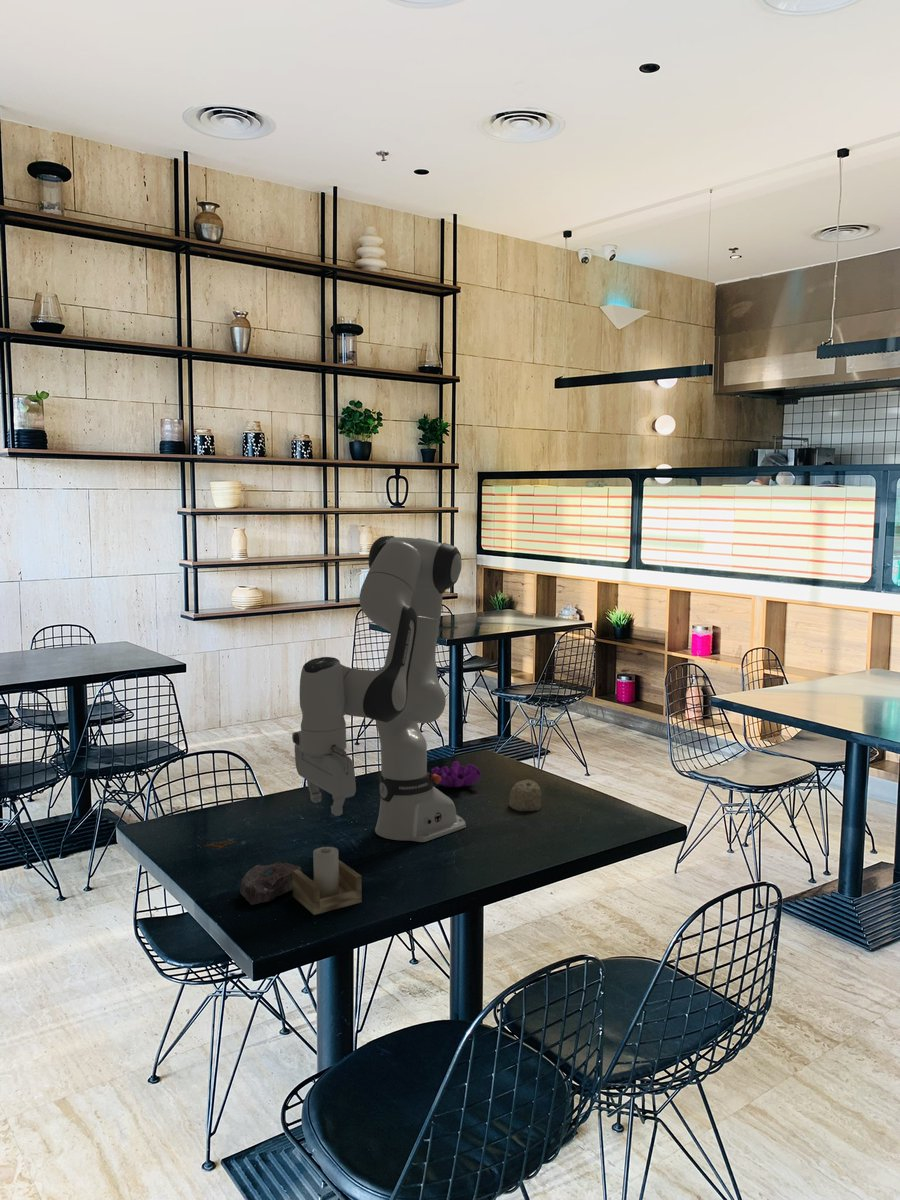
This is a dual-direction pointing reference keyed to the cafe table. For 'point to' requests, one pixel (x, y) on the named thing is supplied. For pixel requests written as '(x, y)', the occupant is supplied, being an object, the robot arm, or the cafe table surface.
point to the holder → (348, 895)
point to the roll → (326, 871)
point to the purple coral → (457, 775)
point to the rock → (267, 882)
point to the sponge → (525, 796)
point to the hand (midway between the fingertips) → (326, 807)
